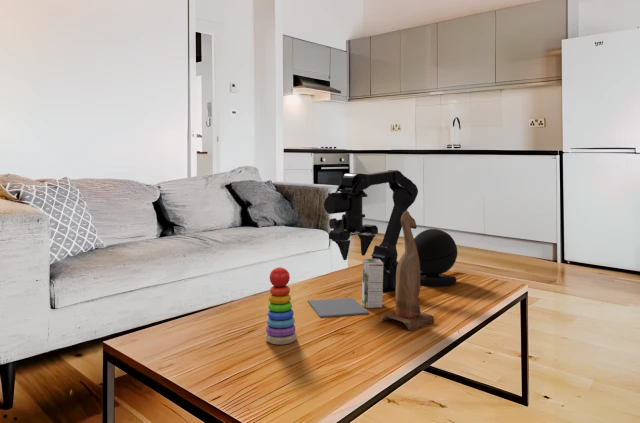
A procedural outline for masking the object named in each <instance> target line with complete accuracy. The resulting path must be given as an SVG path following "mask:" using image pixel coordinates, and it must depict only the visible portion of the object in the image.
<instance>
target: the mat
mask: <svg viewBox="0 0 640 423" xmlns="http://www.w3.org/2000/svg"><path fill="white" fill-rule="evenodd" d="M307 303H308V305H310V306H311V308H312V310H314V312H315V313H316V314H317V316H318V318H331V317H332V318H333V317H343V316H344V317H346V316H358V315H368V314H370V312H369V311H368V310H367V309H366V308H365V307H364V306H362V305H361V304H360V303H359V302H358V301H357V300H356V299H354V298H353V297H343V298H340V297H339V298H329V299H313V300H307Z"/></svg>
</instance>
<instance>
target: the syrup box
mask: <svg viewBox="0 0 640 423" xmlns="http://www.w3.org/2000/svg"><path fill="white" fill-rule="evenodd" d="M361 282H362V284H361V286H362V287H361V304H362V305H363V306H362V307H363V308H365V309H366V308H367V309H368V308H369V309H370V308H372V309H375V308H383V293H384V292H383V262H382V261H381V260H380V259H372V258H363V260H362V281H361Z"/></svg>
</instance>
